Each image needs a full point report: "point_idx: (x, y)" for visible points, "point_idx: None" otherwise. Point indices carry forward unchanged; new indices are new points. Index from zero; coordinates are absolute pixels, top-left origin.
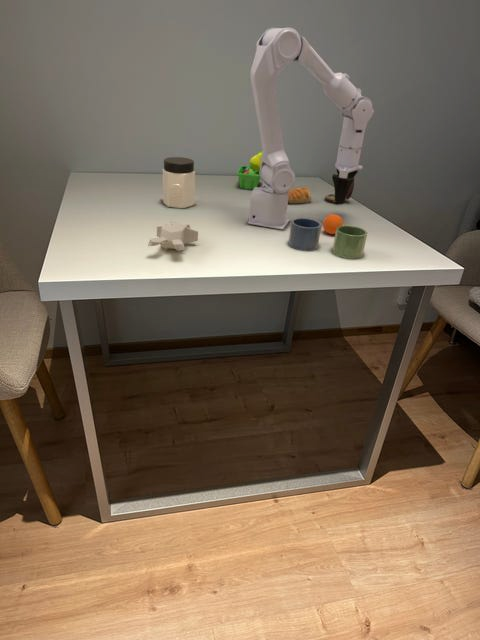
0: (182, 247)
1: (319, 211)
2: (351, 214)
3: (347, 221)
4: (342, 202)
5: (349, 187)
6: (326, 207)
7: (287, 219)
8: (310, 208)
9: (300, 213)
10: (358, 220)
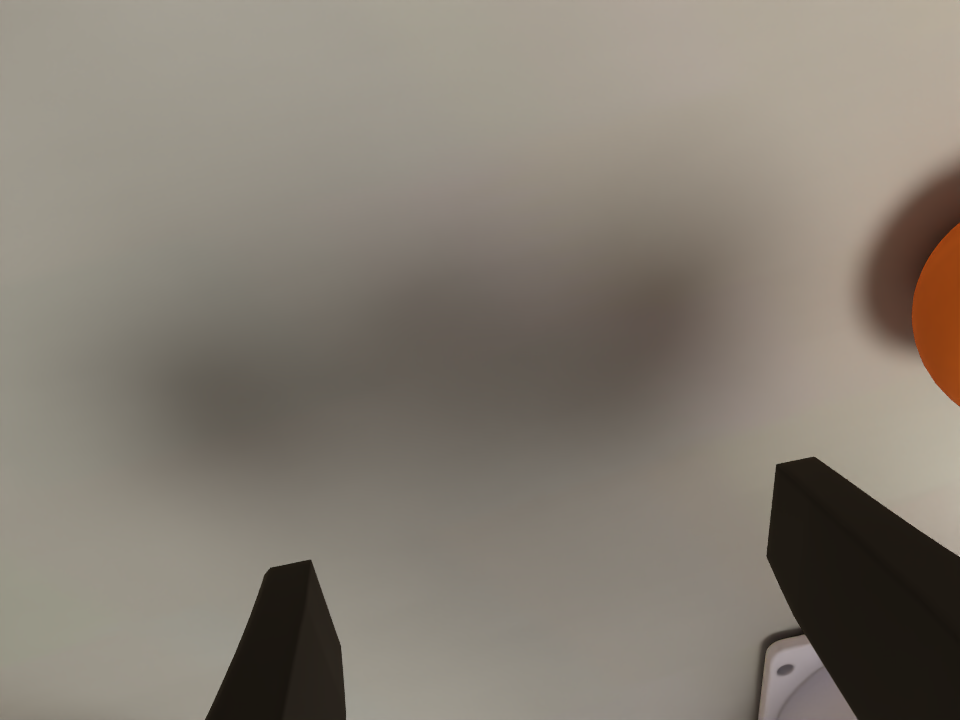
0: None
1: None
2: (22, 284)
3: (404, 237)
4: (837, 478)
5: (259, 697)
6: (35, 593)
7: (787, 658)
8: None
9: (476, 664)
10: (232, 115)
